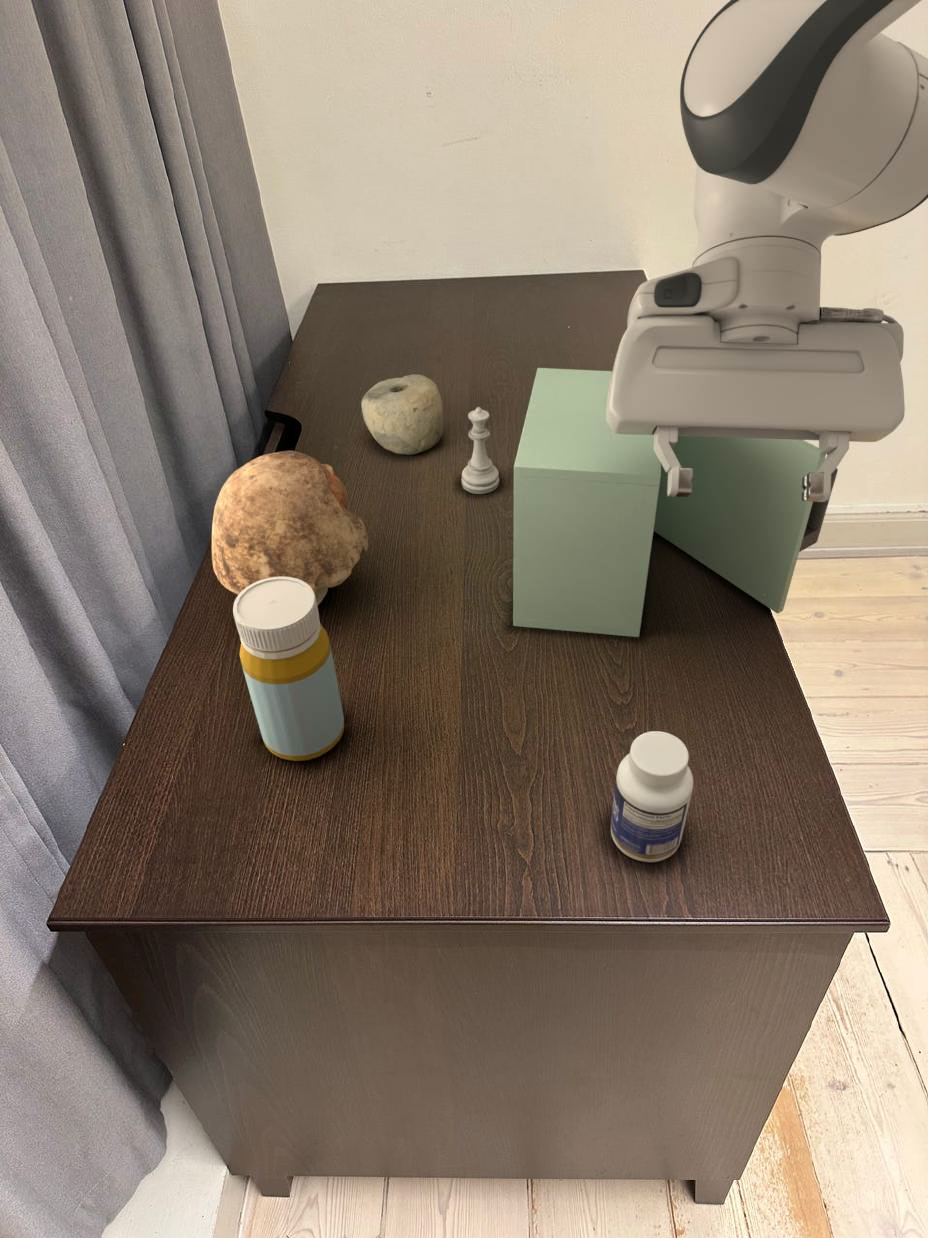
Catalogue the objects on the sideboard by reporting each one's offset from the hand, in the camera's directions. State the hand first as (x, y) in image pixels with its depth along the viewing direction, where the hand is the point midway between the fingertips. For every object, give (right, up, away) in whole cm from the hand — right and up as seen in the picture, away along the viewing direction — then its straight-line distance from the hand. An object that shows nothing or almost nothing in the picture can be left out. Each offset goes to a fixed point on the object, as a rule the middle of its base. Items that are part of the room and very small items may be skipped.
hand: (747, 497), depth 62 cm
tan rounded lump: (-37, -6, +28) cm, 46 cm away
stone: (-27, +14, +50) cm, 59 cm away
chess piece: (-18, +7, +42) cm, 46 cm away
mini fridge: (-8, -4, +29) cm, 30 cm away
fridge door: (+8, -2, +30) cm, 31 cm away
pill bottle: (-6, -25, +5) cm, 26 cm away
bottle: (-34, -19, +14) cm, 41 cm away
